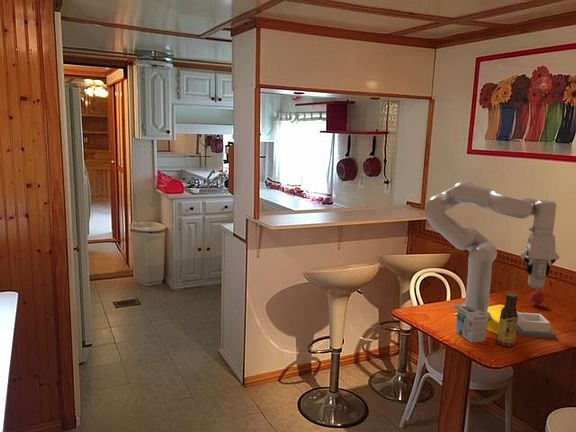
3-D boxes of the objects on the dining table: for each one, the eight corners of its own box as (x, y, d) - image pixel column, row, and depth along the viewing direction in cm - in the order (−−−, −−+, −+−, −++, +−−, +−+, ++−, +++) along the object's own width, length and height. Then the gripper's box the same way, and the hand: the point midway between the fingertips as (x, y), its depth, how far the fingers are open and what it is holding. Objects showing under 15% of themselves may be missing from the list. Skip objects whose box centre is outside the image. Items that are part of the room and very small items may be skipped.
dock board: (519, 335, 202) (520, 322, 201) (507, 322, 215) (509, 310, 214) (555, 338, 200) (557, 325, 199) (542, 324, 214) (543, 312, 213)
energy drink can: (540, 284, 210) (545, 250, 207) (546, 289, 204) (550, 253, 201) (525, 283, 211) (529, 249, 208) (530, 288, 205) (534, 252, 202)
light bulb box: (455, 331, 204) (457, 306, 202) (469, 330, 206) (471, 305, 204) (471, 343, 194) (473, 316, 192) (486, 341, 196) (489, 315, 194)
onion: (526, 303, 240) (528, 287, 238) (539, 303, 240) (541, 287, 238) (532, 307, 234) (534, 291, 233) (544, 308, 234) (546, 291, 232)
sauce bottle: (505, 348, 190) (511, 298, 186) (492, 342, 195) (498, 293, 192) (518, 346, 192) (524, 296, 189) (505, 339, 198) (511, 291, 194)
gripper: (524, 232, 200) (519, 275, 203) (569, 234, 199) (563, 277, 202) (517, 228, 207) (512, 270, 210) (560, 230, 206) (554, 272, 210)
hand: (537, 273), depth 206 cm, fingers closed on energy drink can, 6 cm apart
